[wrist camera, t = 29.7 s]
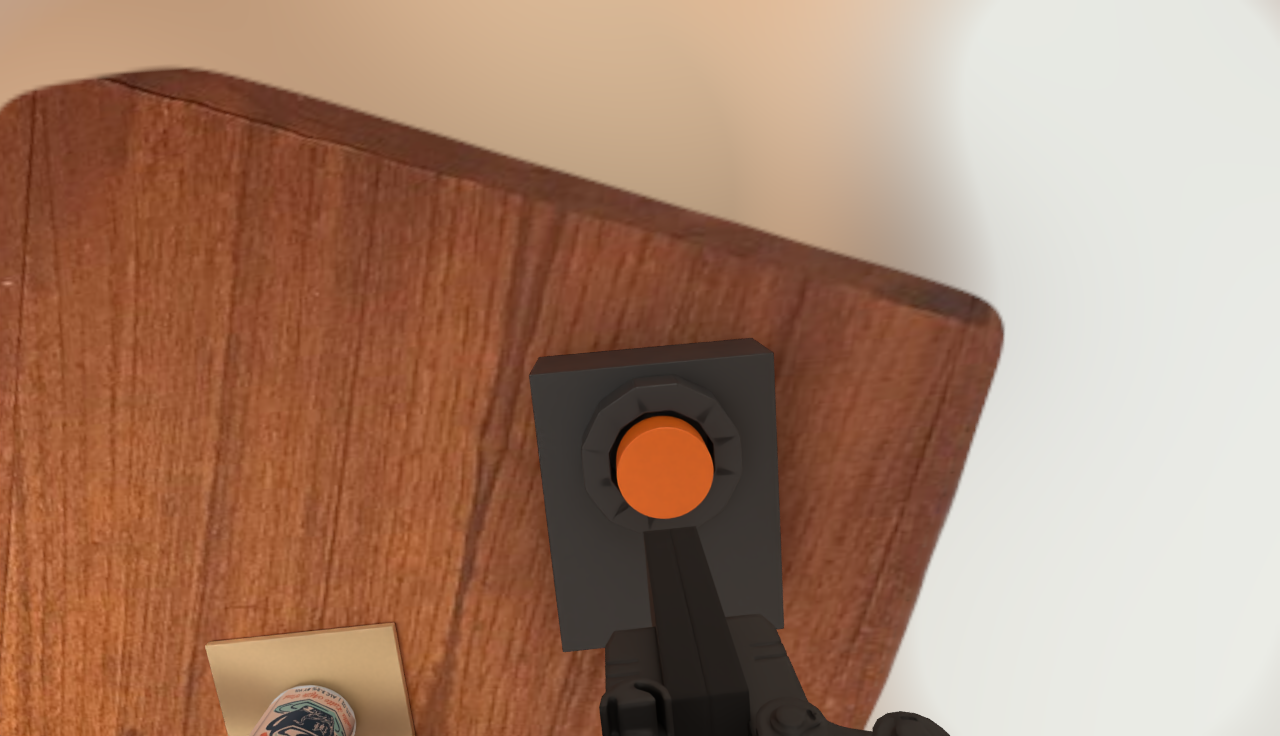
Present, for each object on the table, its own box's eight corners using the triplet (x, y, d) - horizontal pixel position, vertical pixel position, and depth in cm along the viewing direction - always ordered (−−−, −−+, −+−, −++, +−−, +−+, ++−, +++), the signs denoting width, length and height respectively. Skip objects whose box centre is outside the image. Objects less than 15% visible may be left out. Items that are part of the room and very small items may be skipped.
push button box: (538, 356, 32) (523, 384, 26) (752, 337, 32) (785, 360, 27) (567, 603, 35) (560, 678, 29) (763, 583, 35) (795, 652, 30)
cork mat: (209, 641, 34) (204, 646, 34) (394, 621, 35) (392, 626, 34) (248, 794, 36) (244, 800, 36) (422, 774, 37) (420, 780, 36)
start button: (612, 419, 27) (612, 432, 25) (704, 411, 27) (710, 422, 26) (620, 506, 28) (621, 523, 26) (709, 497, 28) (716, 514, 26)
